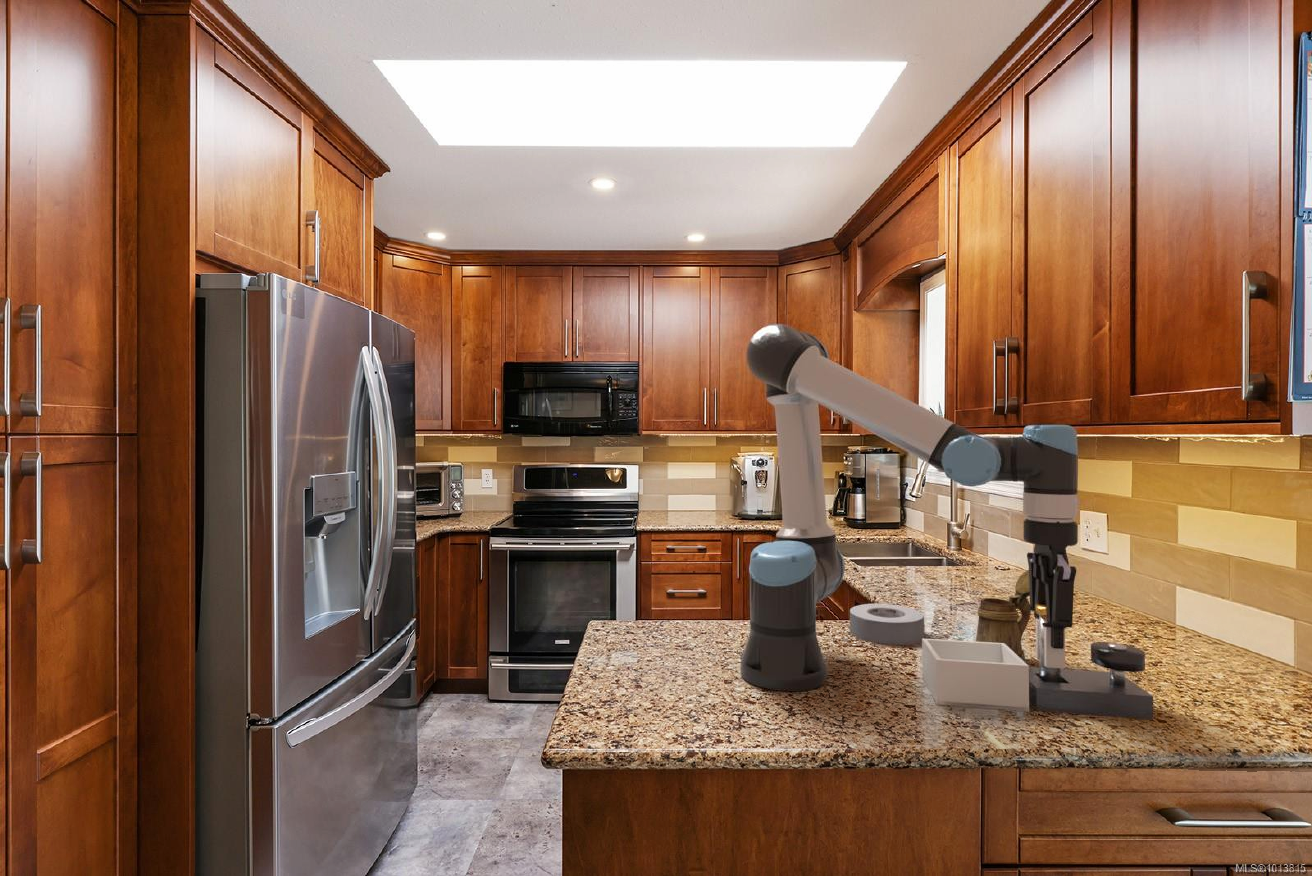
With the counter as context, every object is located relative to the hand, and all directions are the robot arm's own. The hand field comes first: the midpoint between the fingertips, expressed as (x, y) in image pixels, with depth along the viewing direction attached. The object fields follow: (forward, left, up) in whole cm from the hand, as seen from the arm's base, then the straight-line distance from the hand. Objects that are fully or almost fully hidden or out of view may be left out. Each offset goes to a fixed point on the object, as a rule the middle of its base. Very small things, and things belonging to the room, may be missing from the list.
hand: (1050, 662), depth 102 cm
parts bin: (-12, 0, -6) cm, 13 cm away
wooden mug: (0, +20, -6) cm, 21 cm away
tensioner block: (+4, 0, -6) cm, 7 cm away
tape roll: (-21, +32, -6) cm, 39 cm away
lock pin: (0, 0, -5) cm, 5 cm away
